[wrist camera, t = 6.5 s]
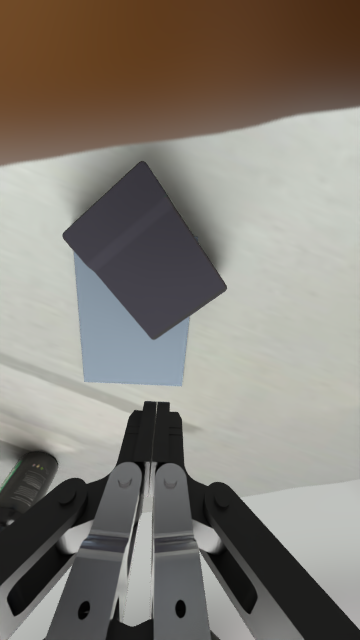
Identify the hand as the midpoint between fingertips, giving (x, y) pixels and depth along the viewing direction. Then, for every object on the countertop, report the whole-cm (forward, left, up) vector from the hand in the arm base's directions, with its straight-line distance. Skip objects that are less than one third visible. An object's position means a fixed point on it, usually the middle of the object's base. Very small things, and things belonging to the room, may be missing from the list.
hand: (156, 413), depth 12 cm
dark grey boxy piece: (-3, -2, -14) cm, 15 cm away
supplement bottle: (+21, +30, -18) cm, 41 cm away
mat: (+4, 0, -18) cm, 18 cm away
